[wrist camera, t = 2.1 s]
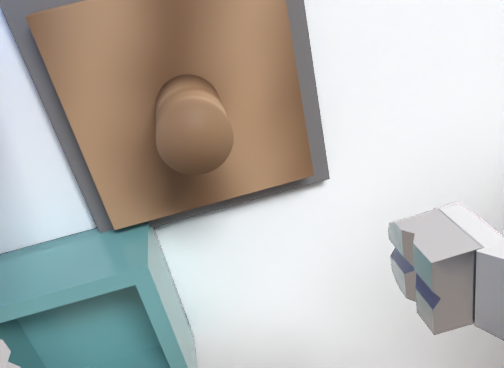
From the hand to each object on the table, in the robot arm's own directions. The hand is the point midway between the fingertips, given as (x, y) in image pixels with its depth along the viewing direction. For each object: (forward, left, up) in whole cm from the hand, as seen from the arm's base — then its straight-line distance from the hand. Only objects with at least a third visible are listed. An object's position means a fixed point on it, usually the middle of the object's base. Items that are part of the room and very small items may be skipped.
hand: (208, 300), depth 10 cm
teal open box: (+8, +10, -14) cm, 19 cm away
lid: (0, 0, -14) cm, 14 cm away
